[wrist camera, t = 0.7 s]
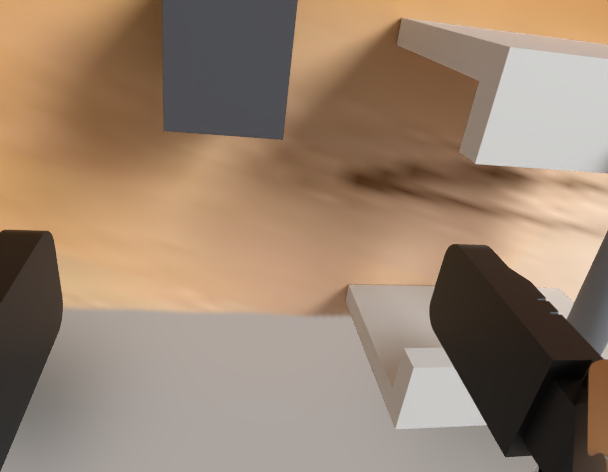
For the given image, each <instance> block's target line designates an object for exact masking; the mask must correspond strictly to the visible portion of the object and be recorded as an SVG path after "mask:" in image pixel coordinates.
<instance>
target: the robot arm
mask: <svg viewBox="0 0 608 472" xmlns="http://www.w3.org/2000/svg"><path fill="white" fill-rule="evenodd" d="M62 312H63V300H62V292H61V285H60V278H59V272H58V265H57V258H56V251H55V244H54V239H53V236H52V234H51V233H50V232H49V231H31V230H3V231H1V232H0V471H1V468H2V466H3V464H4V461H5V459H6V457H7V454H8V452H9V449H10V447H11V444H12V442H13V440H14V438H15V435H16V433H17V430H18V428H19V426H20V423H21V421H22V418H23V416H24V414H25V411H26V409H27V406H28V404H29V402H30V399H31V397H32V394H33V392H34V390H35V387H36V385H37V382H38V380H39V377H40V375H41V373H42V370H43V368H44V365H45V363H46V361H47V358H48V356H49V354H50V351H51V349H52V346H53V344H54V341H55V339H56V337H57V334H58V332H59V329H60V325H61V320H62ZM429 316H430V323H431V326H432V329H433V331H434V333H435V335H436V336H437V338H438V340H439V342H440V343H441V345H442V347H443V349H444V350H445V352H446V354H447V356H448V357H449V359H450V361H451V363H452V364H453V366H454V368H455V370H456V371H457V373H458V375H459V377H460V378H461V380H462V382H463V384H464V386H465V387H466V389H467V391H468V393H469V394H470V396H471V398H472V400H473V401H474V403H475V405H476V407H477V408H478V410H479V412H480V414H481V415H482V417H483V419H484V421H485V422H486V424H487V426H488V428H489V429H490V431H491V433H492V435H493V437H494V438H495V440H496V442H497V444H498V445H499V447H500V449H501V450H502V452H503V454H504V456H505V457H516V456H531V455H532V456H533V458H534V460H535V461H536V463H537V464H536V466H535V468H534V470H533V472H608V359H603V358H602V357H601V356H600V354H599V353H598V352H597V351H596V350H595V349H594V348H593V347H592V346H591V345H590V344H589V343H588V342H587V341H586V340H585V339H584V338H583V337H582V335H581V334H580V333H579V332H578V331H577V330H576V329H575V328H574V327H573V326H572V325H571V324H570V323H569V322H568V321H567V320H566V319H565V318H564V316H563V315H562V314H558V310H557V309H556V308H555V307H554V306H553V305H552V304H551V303H550V302H549V301H546V297H545V296H544V295H543V294H542V293H541V292H540V291H539V290H538V289H537V288H536V287H535V286H534V285H533V284H532V283H531V282H530V281H529V280H527V279H526V278H524V277H522V276H521V275H519V274H518V273H516V272H515V271H513V270H512V269H510V268H509V267H508V266H507V265H506V264H505V263H504V262H503V261H502V260H501V259H500V258H499V257H498V255H497V254H496V253H495V252H494V251H493V250H492V249H491V248H490V247H489V246H486V245H463V244H453V245H451V246H450V247H449V248H448V249H447V251H446V253H445V256H444V259H443V262H442V265H441V269H440V272H439V275H438V278H437V282H436V285H435V288H434V291H433V295H432V298H431V301H430V307H429Z"/></svg>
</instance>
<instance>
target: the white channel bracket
mask: <svg viewBox="0 0 608 472" xmlns="http://www.w3.org/2000/svg"><path fill="white" fill-rule="evenodd" d="M397 46H400V47H402V48H404V49H406V50H409V51H411V52H413V53H416V54H418V55H420V56H423V57H425V58H427V59H430V60H432V61H434V62H436V63H439V64H441V65H443V66H446V67H448V68H450V69H453V70H455V71H457V72H460V73H462V74H464V75H467V76H469V77H471V78H473V79H476V80H478V81H479V83H478V87H477V91H476V94H475V98H474V101H473V105H472V108H471V112H470V115H469V119H468V122H467V126H466V130H465V133H464V137H463V140H462V144H461V147H460V151H459V152H460V153H461V154H463V155H464V156H465V157H467V158H468V159H469V160H470V161H472V162H473V163H474V164H482V165H496V166H511V167H525V168H539V169H554V170H568V171H582V172H597V173H608V44H601V43H593V42H586V41H578V40H570V39H563V38H555V37H547V36H540V35H532V34H524V33H516V32H509V31H501V30H493V29H486V28H478V27H470V26H463V25H455V24H447V23H439V22H432V21H424V20H416V19H409V18H402V20H401V25H400V30H399V35H398V40H397ZM434 288H435V286H404V285H349V286H348V291H347V296H346V303H347V306H348V309H349V311H350V314H351V316H352V319H353V321H354V324H355V327H356V329H357V332H358V334H359V337H360V339H361V342H362V345H363V347H364V350H365V352H366V355H367V357H368V360H369V363H370V365H371V368H372V370H373V373H374V376H375V378H376V381H377V383H378V386H379V388H380V391H381V394H382V396H383V399H384V401H385V404H386V406H387V409H388V412H389V414H390V417H391V420H392V422H393V425H394V427H395V429H409V428H432V427H453V426H454V427H455V426H477V425H487V424H486V422H485V421H484V419H483V417H482V415H481V414H480V412H479V410H478V408H477V407H476V405H475V403H474V401H473V400H472V398H471V396H470V394H469V393H468V391H467V389H466V387H465V386H464V384H463V382H462V380H461V378H460V377H459V375H458V373H457V371H456V370H455V368H454V366H453V364H452V363H451V361H450V359H449V357H448V356H447V354H446V352H445V350H444V349H443V347H442V345H441V343H440V342H439V340H438V338H437V336H436V335H435V333H434V331H433V329H432V326H431V323H430V316H429V307H430V301H431V298H432V295H433V291H434ZM537 289H538V290H539V291H540V292H541V293H542V294H543V295H544V296H545V297H546V301H549V302H550V303H551V304H552V305H553V306H554V307H555V308H556V309H557V310H558V314H562V315H563V316H564V318H565V319H566V320H567V321H568V322H569V323H570V324H571V325H572V326H573V327H574V328H575V329H576V330H577V331H578V332H579V333H580V334H581V335H582V337H583V338H584V339H585V340H586V341H587V342H588V343H589V344H590V345H591V346H592V347H593V348H594V349H595V350H596V351H597V352H598V353H599V354H600V356H601V357H602V358H603V359H608V231H607V233H606V235H605V238H604V240H603V242H602V244H601V246H600V248H599V250H598V253H597V255H596V257H595V259H594V261H593V263H592V266H591V268H590V270H589V272H588V274H587V276H586V278H585V281H584V283H583V285H582V287H581V289H580V291H579V294H578V296H577V298H576V300H575V302H573V301H572V300H571V299H570V298H569V297H568V296H567V295H566V294H565V293H564V292H563V291H562V290H561V289H560V288H537Z"/></svg>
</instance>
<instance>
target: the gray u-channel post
mask: <svg viewBox="0 0 608 472" xmlns="http://www.w3.org/2000/svg"><path fill="white" fill-rule="evenodd" d="M297 1H298V0H162V3H163V108H164V131H172V132H186V133H199V134H213V135H226V136H240V137H253V138H267V139H280V140H283V133H284V123H285V114H286V105H287V95H288V86H289V76H290V67H291V58H292V48H293V39H294V29H295V20H296V11H297Z"/></svg>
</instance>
